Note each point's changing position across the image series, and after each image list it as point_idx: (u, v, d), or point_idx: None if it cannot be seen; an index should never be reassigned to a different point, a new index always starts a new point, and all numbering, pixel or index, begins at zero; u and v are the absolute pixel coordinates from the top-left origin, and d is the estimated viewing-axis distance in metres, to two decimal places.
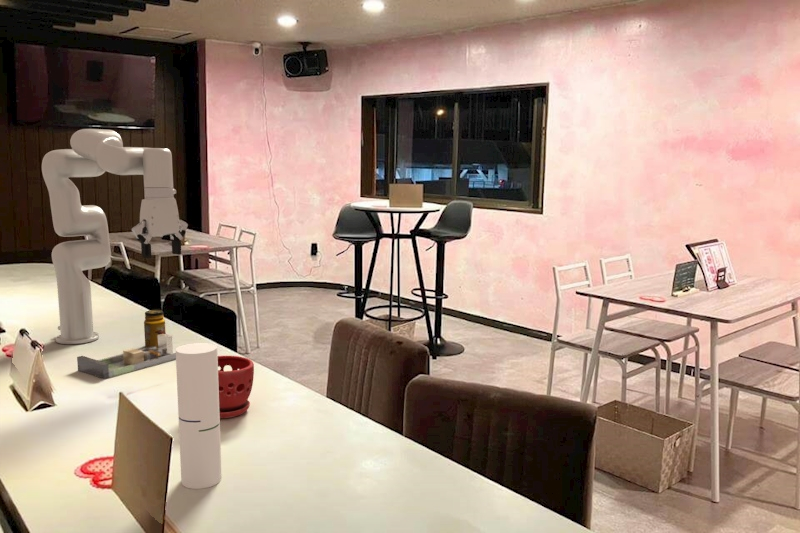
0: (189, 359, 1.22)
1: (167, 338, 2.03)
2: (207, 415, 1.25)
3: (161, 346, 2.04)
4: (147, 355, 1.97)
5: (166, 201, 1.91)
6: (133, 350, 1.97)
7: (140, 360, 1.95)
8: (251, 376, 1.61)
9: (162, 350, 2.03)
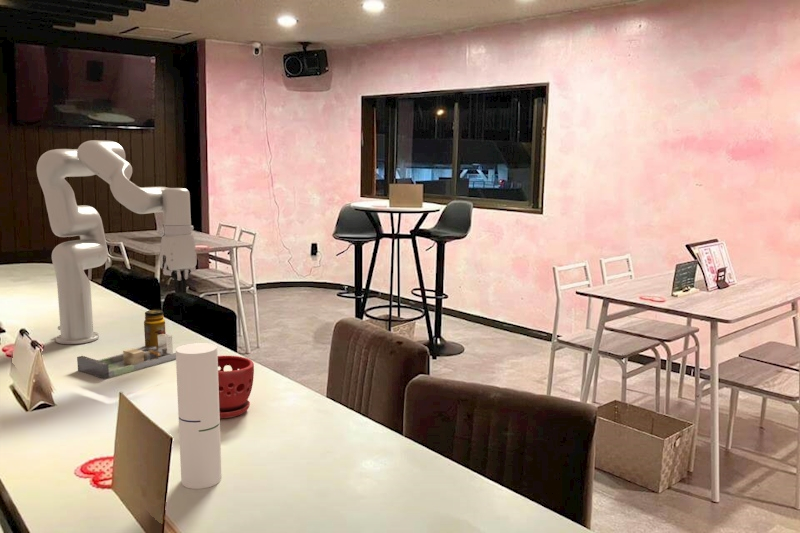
0: (189, 359, 1.22)
1: (167, 338, 2.03)
2: (207, 415, 1.25)
3: (161, 346, 2.04)
4: (147, 355, 1.97)
5: (184, 238, 2.04)
6: (133, 350, 1.97)
7: (140, 360, 1.95)
8: (251, 376, 1.61)
9: (162, 350, 2.03)
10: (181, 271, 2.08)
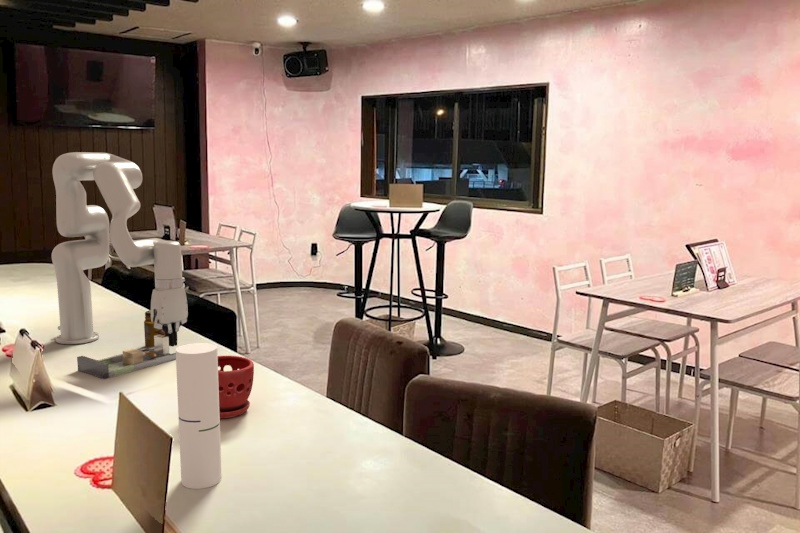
0: (189, 359, 1.22)
1: (164, 339, 2.02)
2: (207, 415, 1.25)
3: (158, 347, 2.03)
4: (143, 356, 1.96)
5: (175, 291, 2.03)
6: (132, 350, 1.97)
7: (139, 360, 1.95)
8: (251, 376, 1.61)
9: (158, 351, 2.02)
10: (172, 323, 2.07)
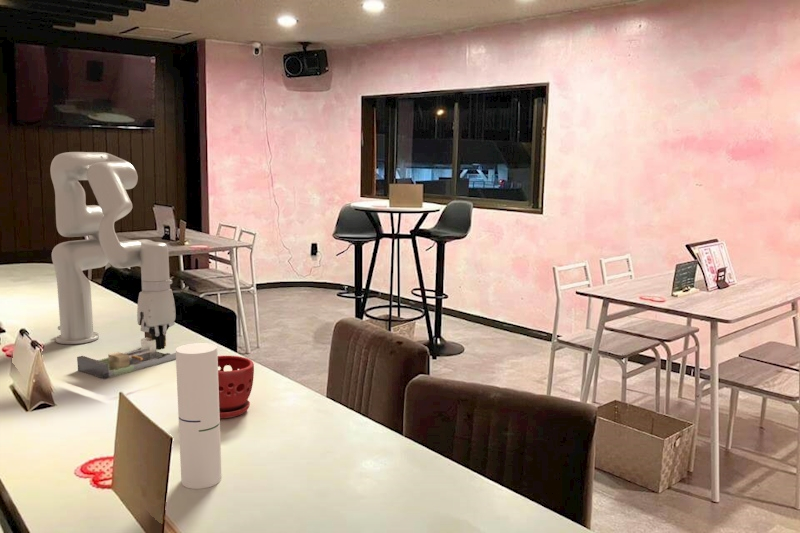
0: (189, 359, 1.22)
1: (150, 342, 1.98)
2: (207, 415, 1.25)
3: (145, 350, 2.00)
4: (129, 360, 1.93)
5: (163, 293, 1.99)
6: (118, 354, 1.93)
7: (125, 364, 1.92)
8: (251, 376, 1.61)
9: (145, 354, 1.99)
10: (159, 326, 2.04)
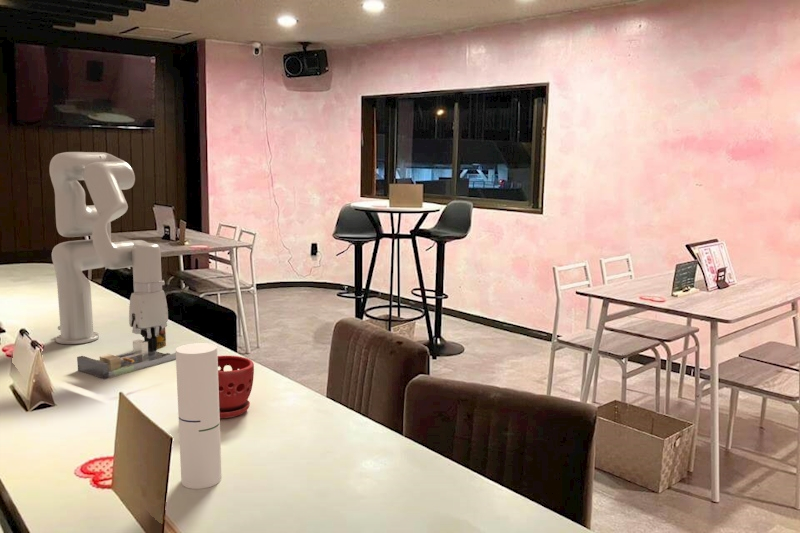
0: (189, 359, 1.22)
1: (142, 344, 1.96)
2: (207, 415, 1.25)
3: (137, 352, 1.98)
4: (121, 362, 1.91)
5: (155, 295, 1.97)
6: (110, 356, 1.91)
7: (117, 366, 1.90)
8: (251, 376, 1.61)
9: (137, 356, 1.96)
10: (152, 328, 2.02)
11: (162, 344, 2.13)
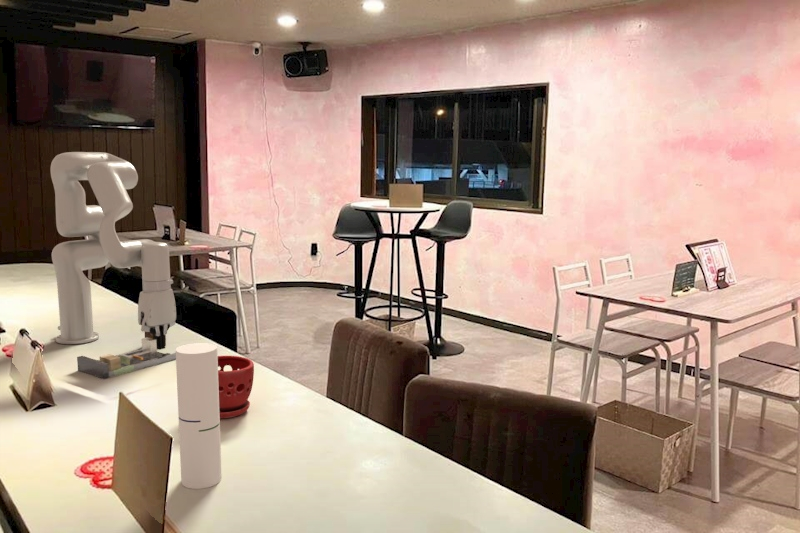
0: (189, 359, 1.22)
1: (151, 342, 1.98)
2: (207, 415, 1.25)
3: (145, 350, 2.00)
4: (130, 359, 1.93)
5: (163, 293, 2.00)
6: (110, 356, 1.91)
7: (117, 366, 1.90)
8: (251, 376, 1.61)
9: (146, 354, 1.99)
10: (160, 326, 2.04)
11: None
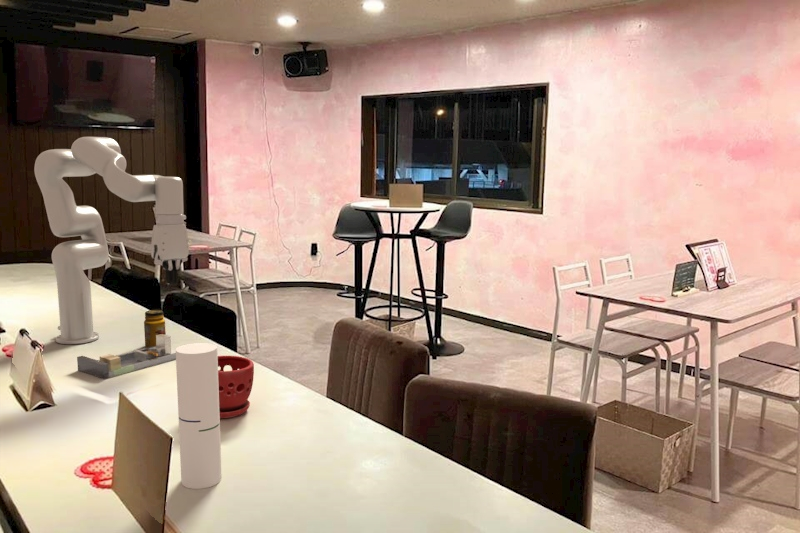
0: (189, 359, 1.22)
1: (165, 338, 2.02)
2: (207, 415, 1.25)
3: (160, 346, 2.04)
4: (145, 355, 1.97)
5: (177, 227, 2.01)
6: (110, 356, 1.91)
7: (117, 366, 1.90)
8: (251, 376, 1.61)
9: (160, 350, 2.03)
10: (173, 261, 2.05)
11: None
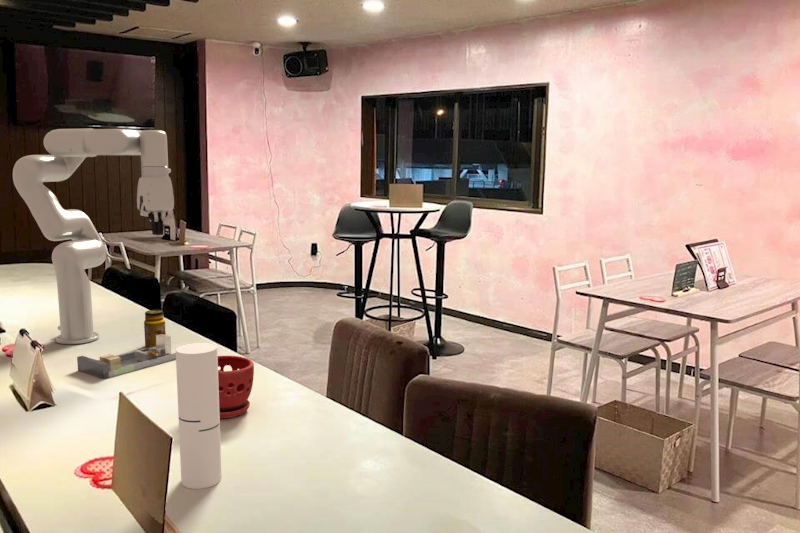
0: (189, 359, 1.22)
1: (165, 338, 2.02)
2: (207, 415, 1.25)
3: (160, 346, 2.04)
4: (145, 355, 1.97)
5: (161, 179, 2.07)
6: (110, 356, 1.91)
7: (117, 366, 1.90)
8: (251, 376, 1.61)
9: (160, 350, 2.03)
10: (158, 213, 2.11)
11: None
